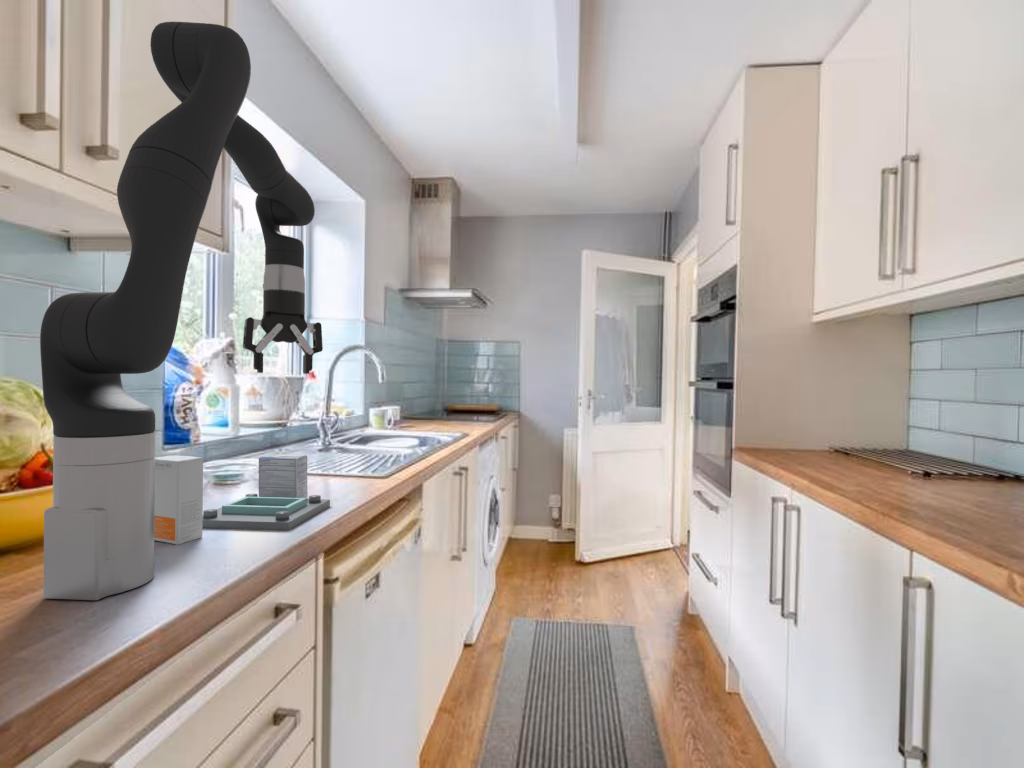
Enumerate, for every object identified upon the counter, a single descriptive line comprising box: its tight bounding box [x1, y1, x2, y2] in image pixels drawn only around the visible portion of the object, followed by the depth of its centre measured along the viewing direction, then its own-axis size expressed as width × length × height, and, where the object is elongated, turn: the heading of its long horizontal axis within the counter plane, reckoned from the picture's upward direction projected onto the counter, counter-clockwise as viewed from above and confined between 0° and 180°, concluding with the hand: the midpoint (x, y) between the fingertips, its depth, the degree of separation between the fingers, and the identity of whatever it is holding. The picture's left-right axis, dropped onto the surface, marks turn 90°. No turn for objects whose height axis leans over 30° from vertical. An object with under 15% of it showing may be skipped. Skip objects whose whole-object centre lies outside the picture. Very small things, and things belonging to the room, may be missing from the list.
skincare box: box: [154, 454, 204, 546], centre depth 78 cm, size 6×4×12 cm
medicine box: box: [258, 453, 309, 499], centre depth 103 cm, size 8×4×9 cm, turn 84°
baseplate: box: [202, 492, 331, 531], centre depth 91 cm, size 16×16×2 cm
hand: (283, 373), depth 104 cm, fingers open, 8 cm apart
